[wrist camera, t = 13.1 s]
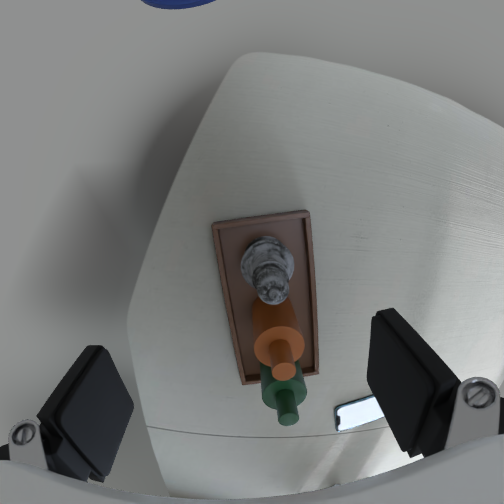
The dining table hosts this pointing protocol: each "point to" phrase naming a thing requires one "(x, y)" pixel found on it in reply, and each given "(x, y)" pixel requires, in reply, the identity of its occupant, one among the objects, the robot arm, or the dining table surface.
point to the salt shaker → (268, 268)
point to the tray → (243, 295)
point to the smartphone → (357, 413)
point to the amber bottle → (277, 337)
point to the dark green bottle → (283, 393)
